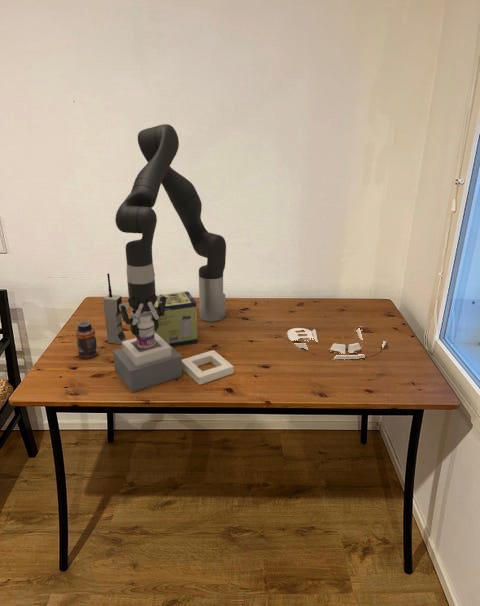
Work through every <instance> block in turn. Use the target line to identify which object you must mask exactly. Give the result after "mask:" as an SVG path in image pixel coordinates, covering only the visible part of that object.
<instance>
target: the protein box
mask: <svg viewBox="0 0 480 606" xmlns="http://www.w3.org/2000/svg"><path fill="white" fill-rule="evenodd" d="M159 295H160V294H158V295H157V294H156V296H159ZM162 295H163V296H165V297H166V305H165V313H164V316H160V317H159V318H158V323H159V327H158V329H157V331H155V333H157V334H158V335H159V336H160V337H162V338H163V339H164V340H165V341H166V342H167V343H168V344H169V345H170V346H171V347H172V348H174V347H178V346H184V345H191V344H197V343H198V321H197V320H198V319H197V318H198V317H197V315H198V314H197V302H196V300H195V299H194V298H193V296H192V295H191V293H190V292H189V291H180V292H174V293H173V292H171V293H166V294H162ZM154 308H155V310H156V312H157V309H158V302H157V301H156V303H155V304H154ZM149 313H150V312H149ZM151 318H152V315H151Z"/></svg>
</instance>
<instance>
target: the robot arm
mask: <svg viewBox="0 0 480 606" xmlns="http://www.w3.org/2000/svg"><path fill="white" fill-rule="evenodd" d="M137 142H138V146H139V150H140V152H141V153H142V156H143V157H144V159H145V160H146V162H147V163H146V164H145V165H144V166H143V168H142V169H141V170H140V171H139V173H138V174H137V175H136V177H135V179H134V183H133V186H132V188H131V191H130V193H129V194H128V195H127V196H126V198H125V199H124V200H123V201H122V203H121V204H120V206H119V207H118V209H117V210H116V214H115V217H114V218H115V225H116V227H117V228H118V230H119V231H120V232H121V233H126V234H141V235H142V237H141V238H140V239H136V240H135V239H134V240H131V241H128V242H127V243H126V244H125V257H126V258H125V260H126V282H127V293H128V300H127V301H126V302H124V303H120V304H119V305H118V306H119V309H120V312H121V320H122V321H123V322H124V323H125V324H126V325H127V326H128V325H130V326H129V327H130V332H131V334H132V335H133V336H135V337H136V336H138V329H137V324H136V322H137V319H138V318H139V316H140V313H143V312H150V313H151V315H152V318H151V319H152V320H153V322H154V331H157V329H158V327H159V323H158V318H159V317H160V316H164V313H165V305H166V297H165V296H163V295H164V294H158V295H159V296H156V295H157V294H156V278H155V277H156V274H155V268H154V260H153V240H154V235H155V231H156V227H157V223H158V218H157V213H156V212H155V209H153V207H154V206H155V204H156V202H157V199H158V195H159V191H160V188H161V186H162V187H163V189H164V191H165V193H166V194H167V196H168V198H169V201H170V204H172V207H173V208H174V210H175V212H176V213H177V215H178V217H179V219H180V221H181V223H182V225H183V226H184V229H185V231H186V233H187V235H188V236H187V237H188V238H189V241H190V243H191V245H192V248H193V250H194V251H195V254H197V255H198V256H201V257H203V258H205V259H206V264H205V265H202V266H200V267H199V269H198V295H199V296H198V297H199V299H198V301H199V318H200V319H201V320H202V321H205V322H218V321H221V320H223V318H225V317H226V294H225V293H224V272H225V271H224V270H225V269H226V260H227V259H226V258H227V257H226V256H227V242H226V240H225V237H223V235H221V234H217V233H213V232H209V231H208V230H207V229H206V228H205V225H204V224H203V223H204V222H202V218H201V217H202V209H203V207H202V206H203V204H202V200H201V198H200V196H199V194H198V191H197V189H196V187H195V186H194V184H193V183H192V182H191V181H190V180H189V179H187V178H186V177H185V176H183V174H180V173H179V172H178V171H176V170H175V169H174V168H172V167H171V165H172V162H173V161H174V159H175V157H176V155H177V153H178V150H179V145H180V142H179V135H178V133H177V131H176V129H175V128H174V127H173V126H172V125H171V124H168V123H166V124H165V123H164V124H159V125H155V126H152V127H148V128H144V129H142V130H140V131H139V132H138V133H137ZM156 301H157V302H158V309H157V312H156V310H155V308H154V304H155V303H156ZM129 307H130V308H131V310H130V316H129V314H128V311H129Z"/></svg>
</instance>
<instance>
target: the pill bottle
mask: <svg viewBox="0 0 480 606" xmlns="http://www.w3.org/2000/svg"><path fill="white" fill-rule="evenodd" d="M136 324H137V329H138V336H135V338H136V339H137V345H138V346H139V347H141V348H149V347H152V346H154V344H155V331H154V322H153V320H152V319H151V313H149V312H143V313H140V316H139V318H138V319H137V322H136Z"/></svg>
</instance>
